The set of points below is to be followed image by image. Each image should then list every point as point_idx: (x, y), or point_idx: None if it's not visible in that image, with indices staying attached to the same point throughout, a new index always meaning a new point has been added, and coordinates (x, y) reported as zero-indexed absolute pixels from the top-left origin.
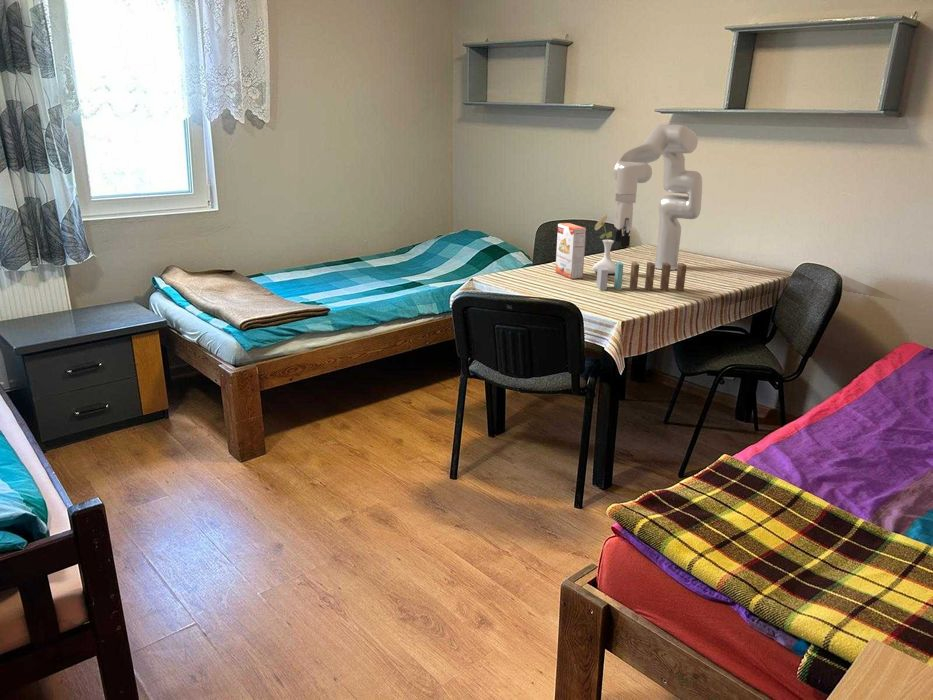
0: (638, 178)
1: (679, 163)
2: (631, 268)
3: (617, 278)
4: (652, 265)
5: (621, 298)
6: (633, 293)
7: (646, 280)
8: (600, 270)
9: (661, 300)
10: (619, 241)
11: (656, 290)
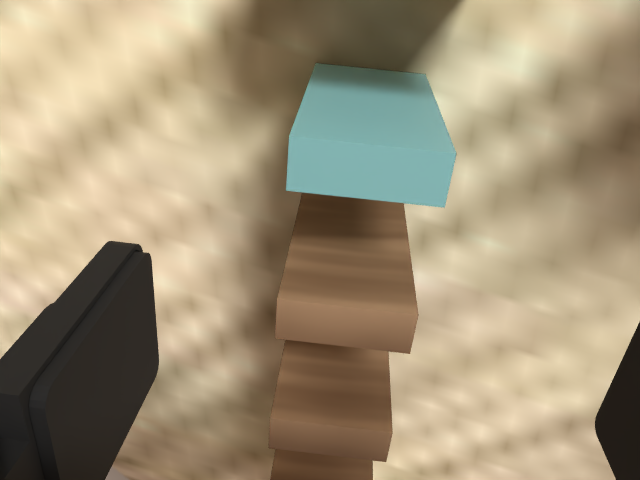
0: None
1: None
2: (397, 275)
3: (307, 88)
4: (270, 428)
5: (26, 13)
6: (206, 161)
7: None
8: None
9: (37, 270)
10: (625, 366)
11: None
